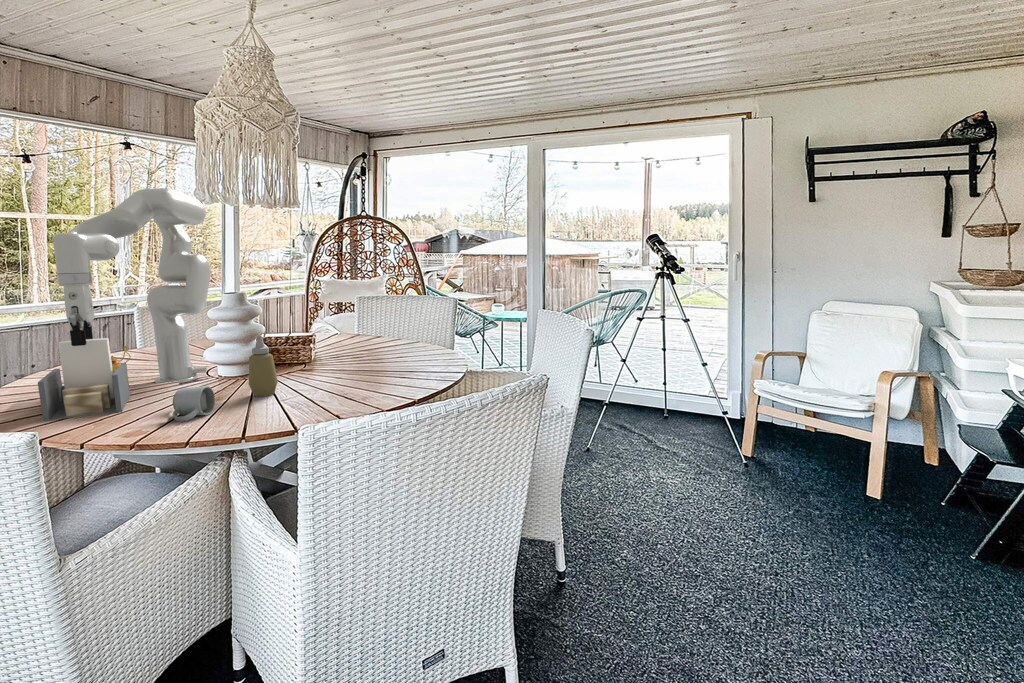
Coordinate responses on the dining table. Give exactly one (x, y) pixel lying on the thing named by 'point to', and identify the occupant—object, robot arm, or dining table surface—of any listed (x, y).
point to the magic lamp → (115, 362)
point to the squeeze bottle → (262, 370)
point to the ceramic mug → (193, 402)
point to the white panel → (87, 364)
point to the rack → (53, 388)
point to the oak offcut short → (84, 403)
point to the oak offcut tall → (90, 389)
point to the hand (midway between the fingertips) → (82, 343)
